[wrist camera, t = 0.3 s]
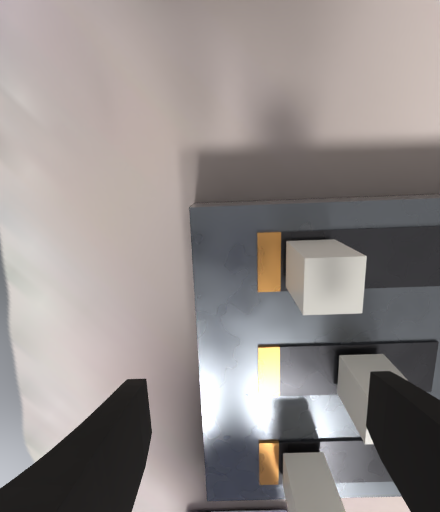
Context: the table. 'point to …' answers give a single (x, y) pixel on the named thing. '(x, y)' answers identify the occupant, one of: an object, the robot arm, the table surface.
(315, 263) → the block
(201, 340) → the panel
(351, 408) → the block
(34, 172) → the table surface
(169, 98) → the table surface
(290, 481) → the breaker
